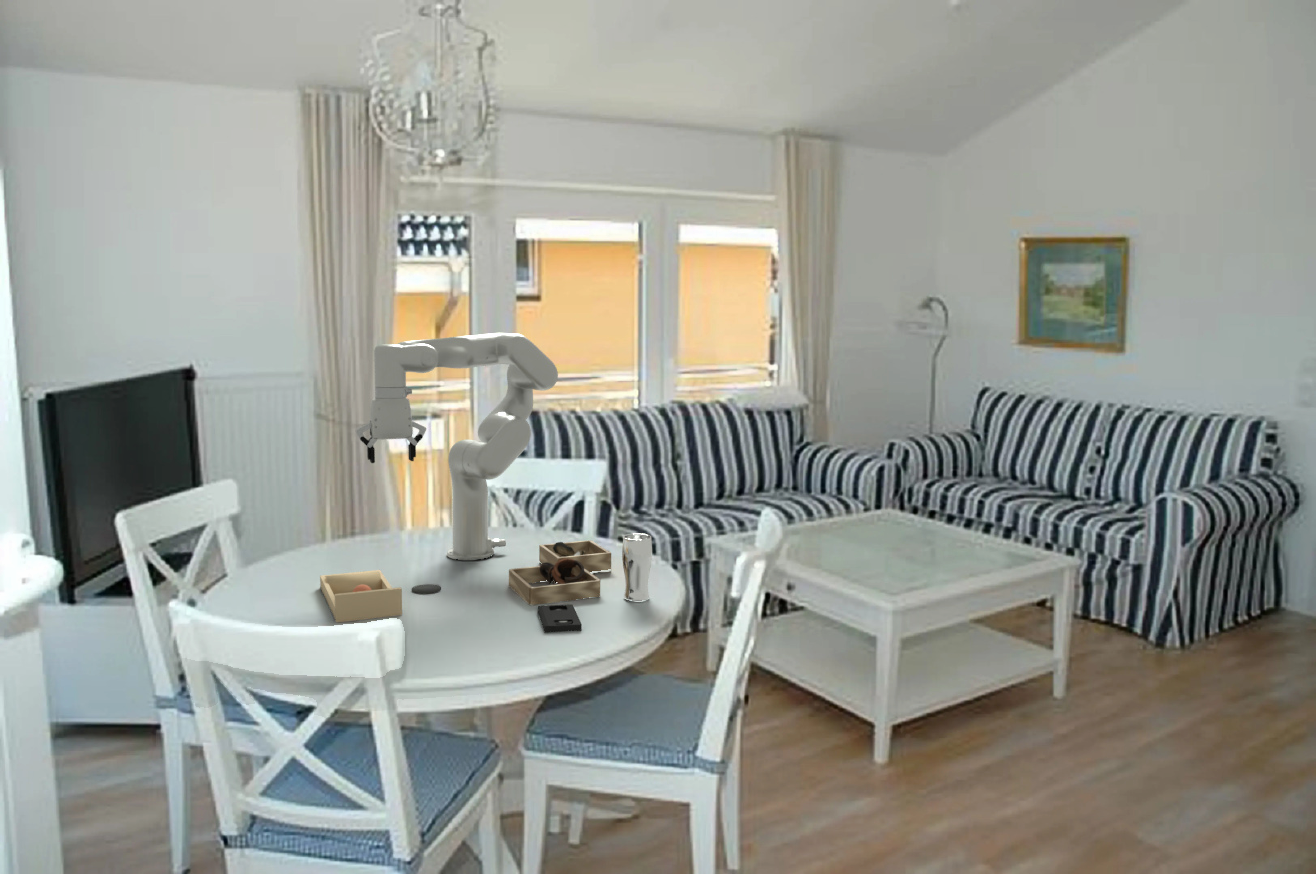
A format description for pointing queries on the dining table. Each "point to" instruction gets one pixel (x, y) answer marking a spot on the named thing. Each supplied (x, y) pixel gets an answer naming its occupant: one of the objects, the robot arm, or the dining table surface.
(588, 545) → the wooden tray
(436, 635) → the dining table surface
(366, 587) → the ball
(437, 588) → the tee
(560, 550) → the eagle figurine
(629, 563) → the beer glass
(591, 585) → the shallow wooden box
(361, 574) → the wooden drawer
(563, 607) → the vhs tape
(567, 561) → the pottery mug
